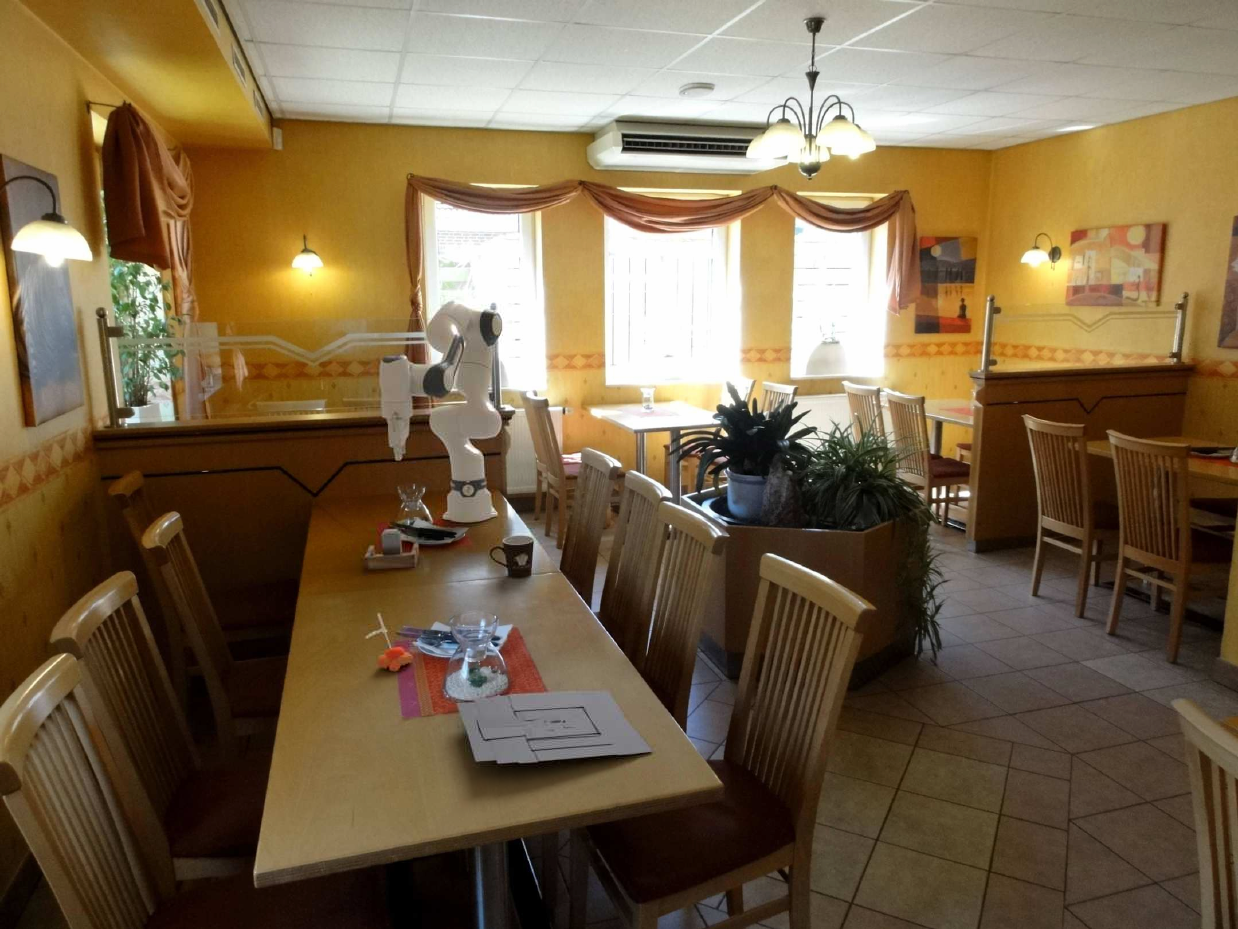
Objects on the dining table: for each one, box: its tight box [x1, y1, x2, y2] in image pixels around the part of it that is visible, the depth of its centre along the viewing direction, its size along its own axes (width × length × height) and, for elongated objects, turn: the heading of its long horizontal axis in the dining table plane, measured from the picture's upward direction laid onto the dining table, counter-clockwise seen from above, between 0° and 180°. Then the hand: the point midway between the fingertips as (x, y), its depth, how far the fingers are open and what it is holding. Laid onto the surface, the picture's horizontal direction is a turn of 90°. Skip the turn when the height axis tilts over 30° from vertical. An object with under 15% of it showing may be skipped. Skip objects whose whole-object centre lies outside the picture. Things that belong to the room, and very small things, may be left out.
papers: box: [456, 689, 653, 764], centre depth 149 cm, size 24×30×4 cm
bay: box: [363, 542, 420, 571], centre depth 245 cm, size 12×14×4 cm
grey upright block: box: [380, 528, 403, 556], centre depth 245 cm, size 4×5×9 cm
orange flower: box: [365, 612, 414, 672], centre depth 176 cm, size 6×10×12 cm, turn 116°
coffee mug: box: [489, 534, 535, 579], centre depth 232 cm, size 12×9×10 cm
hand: (400, 456), depth 250 cm, fingers open, 8 cm apart
